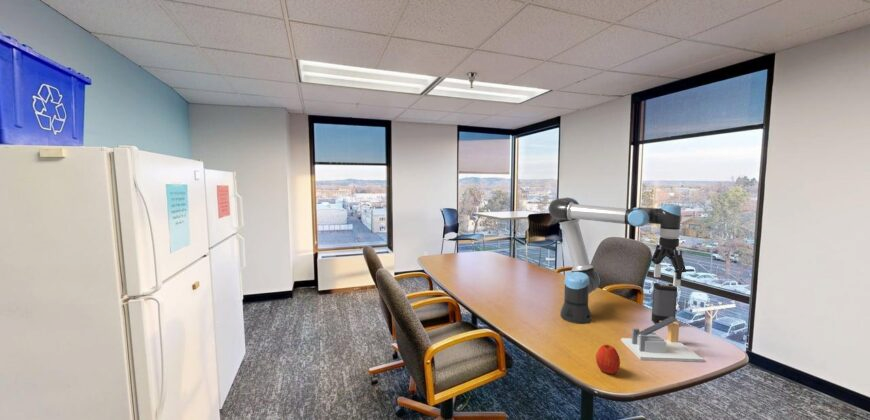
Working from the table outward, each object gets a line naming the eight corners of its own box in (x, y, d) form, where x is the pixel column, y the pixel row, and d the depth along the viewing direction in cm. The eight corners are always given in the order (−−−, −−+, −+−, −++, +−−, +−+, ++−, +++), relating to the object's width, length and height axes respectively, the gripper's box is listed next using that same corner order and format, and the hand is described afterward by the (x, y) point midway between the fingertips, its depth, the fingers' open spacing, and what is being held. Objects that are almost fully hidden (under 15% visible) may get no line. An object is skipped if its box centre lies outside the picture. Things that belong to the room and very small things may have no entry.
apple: (596, 375, 122) (597, 347, 121) (594, 363, 130) (595, 337, 129) (621, 379, 119) (622, 351, 118) (617, 367, 127) (618, 341, 126)
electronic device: (671, 322, 167) (674, 284, 165) (675, 327, 161) (678, 287, 159) (650, 319, 170) (652, 282, 168) (654, 324, 164) (656, 286, 162)
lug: (662, 341, 144) (663, 323, 143) (658, 338, 147) (659, 320, 146) (678, 342, 144) (679, 324, 143) (673, 338, 147) (674, 321, 146)
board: (640, 359, 132) (641, 341, 131) (621, 340, 148) (621, 323, 147) (702, 362, 130) (704, 343, 130) (676, 342, 146) (677, 325, 145)
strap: (641, 339, 137) (640, 337, 137) (636, 334, 141) (634, 332, 141) (678, 321, 135) (677, 319, 135) (672, 317, 140) (670, 314, 140)
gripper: (698, 242, 140) (694, 290, 142) (659, 233, 165) (657, 273, 167) (680, 242, 140) (677, 290, 142) (644, 233, 165) (642, 273, 167)
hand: (666, 281), depth 155 cm, fingers open, 13 cm apart
